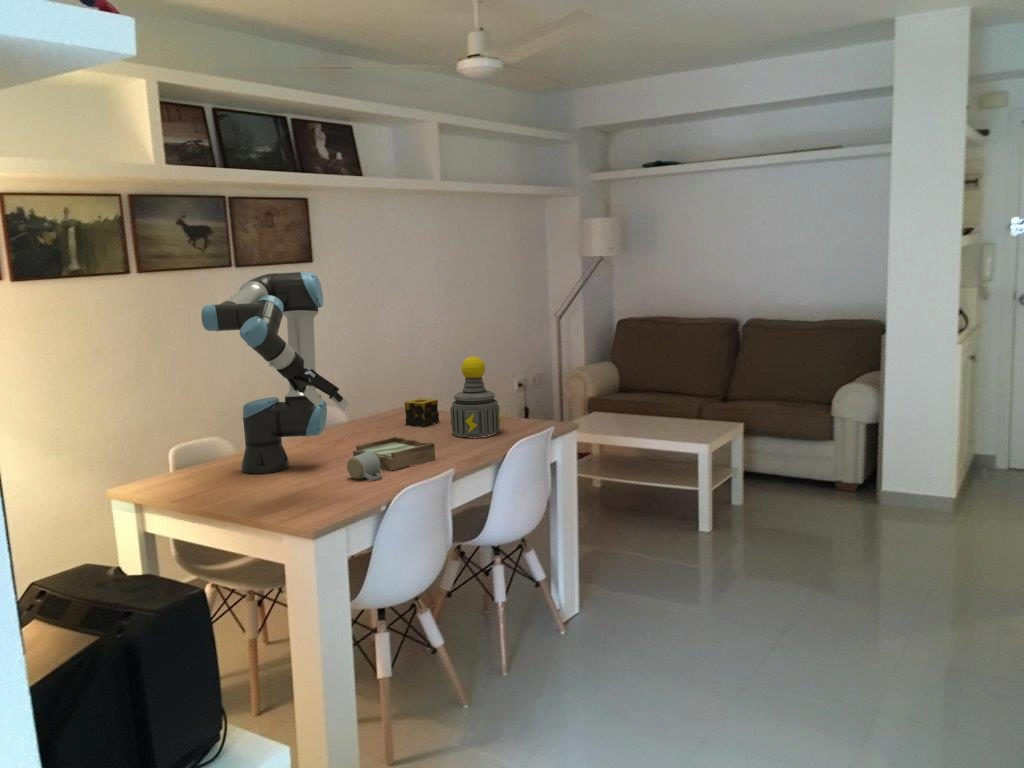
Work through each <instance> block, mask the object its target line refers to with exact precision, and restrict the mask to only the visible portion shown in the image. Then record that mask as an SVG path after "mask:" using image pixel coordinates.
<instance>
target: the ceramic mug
mask: <svg viewBox="0 0 1024 768" xmlns="http://www.w3.org/2000/svg"><path fill="white" fill-rule="evenodd" d="M346 470H347V473H348V474H349V476H350V477H351V478H352V479H354V480H363V479H368V480H370V481H378V480H377V479H379V480H381V479H382V476H383V471H382V469H380V461H379V458H378V456H377V455H376V454H375V453H374V452H372V451H367V452H364V453H362V454H360V455H357V456H354V457H353V456H352V457H351V458H349V460H348V461H347V463H346ZM377 474H379V475H377Z"/></svg>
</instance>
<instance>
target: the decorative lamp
mask: <svg viewBox="0 0 1024 768" xmlns="http://www.w3.org/2000/svg"><path fill="white" fill-rule="evenodd" d="M485 372H486V365H485V362H484V361H483V359H481V358H480V357H478V356H473V355H472V356H469V357H467V358H465V359H464V360H463V361H462V363H461V373H462V375H463V376H464V377H465V379H464V383H463V388H462V391H459V392H456V393H455V394H454V395H453V399H454V401H452V402H451V407H450V409H449V410H450V411H449V412H450V421H449V422H450V425H451V432H452V433H453V435H454V436H455V437H456V436H458V437H457V438H460V437H482V436H488V435H492V434H495V433H497V432H498V433H499V431H500V429H501V412H500V411H501V407H500V405H499V404H498V400H497V399H495V397H496V395H495V393H494V392H493V391H491V390H487V389H486V387H485V383H484V381H483V380H484V378H483V376H484V375H485ZM498 433H497V434H498Z"/></svg>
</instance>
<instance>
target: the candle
mask: <svg viewBox="0 0 1024 768" xmlns="http://www.w3.org/2000/svg"><path fill="white" fill-rule="evenodd" d="M438 399H439V398H438ZM438 399H435V398H434V399H433V398H415V399H411V400H407V401H405V402H403V403H404V412H405V413H404V414H405V425H406V426H407V425H410V426H409V427H417V426H421V427H420V428H427V427H430V426H429V425H431V426H433V425H435V424H434V423H437V424H439V423H440V413H439V409H438V405H439V403H438V402H439V401H438ZM438 422H439V423H438ZM432 424H433V425H432ZM426 426H427V427H426Z"/></svg>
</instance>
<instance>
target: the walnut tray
mask: <svg viewBox="0 0 1024 768" xmlns="http://www.w3.org/2000/svg"><path fill="white" fill-rule="evenodd" d="M367 451H372V452H374V453H375V454H376V455H377V456H378V458H379V461H380V468H381V470H384V469H386V470H385V471H389V470H390V472H393V471H392V470H394V471H397V470H396V469H398V470H400V469H399V468H402V469H404V468H403V467H405V468H407V467H406V466H409V467H411V466H410V465H413V466H415V465H414V464H417V465H419V464H418V463H420V464H423V463H422V462H424V463H428V462H431V461H435V460H436V446H435V443H433V442H428V441H424V440H417V439H411V438H408V437H407V438H406V437H402V436H401V437H400V436H393V437H389V438H384V439H380V440H374V441H371V442H367V443H363V444H358V445H356V446H355V450H353V451H352V458H353V457H354V456H357V455H360V454H362V453H364V452H367ZM427 461H428V462H427Z"/></svg>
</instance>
